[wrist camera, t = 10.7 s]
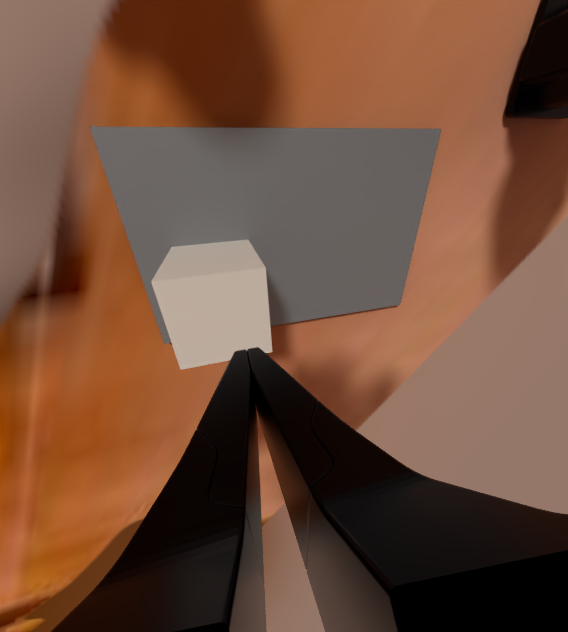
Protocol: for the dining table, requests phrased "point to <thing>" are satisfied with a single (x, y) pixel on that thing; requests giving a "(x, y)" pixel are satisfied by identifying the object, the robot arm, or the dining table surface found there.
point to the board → (278, 206)
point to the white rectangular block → (213, 301)
